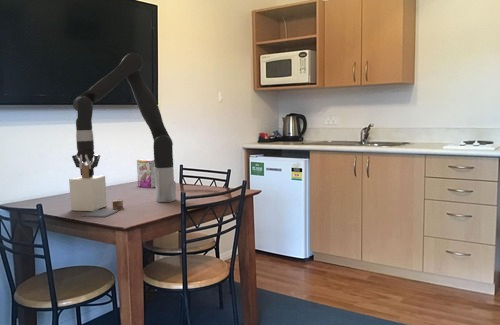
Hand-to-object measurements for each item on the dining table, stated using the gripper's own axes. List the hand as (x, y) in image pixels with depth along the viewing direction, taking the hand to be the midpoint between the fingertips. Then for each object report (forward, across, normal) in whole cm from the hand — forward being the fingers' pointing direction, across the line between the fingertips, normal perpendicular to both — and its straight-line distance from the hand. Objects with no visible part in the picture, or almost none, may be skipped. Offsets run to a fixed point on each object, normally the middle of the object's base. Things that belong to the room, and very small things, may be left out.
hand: (87, 176), depth 217 cm
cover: (+15, 0, 0) cm, 15 cm away
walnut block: (+16, -14, -2) cm, 21 cm away
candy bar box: (+16, 0, -63) cm, 65 cm away
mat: (+15, -12, +10) cm, 22 cm away
